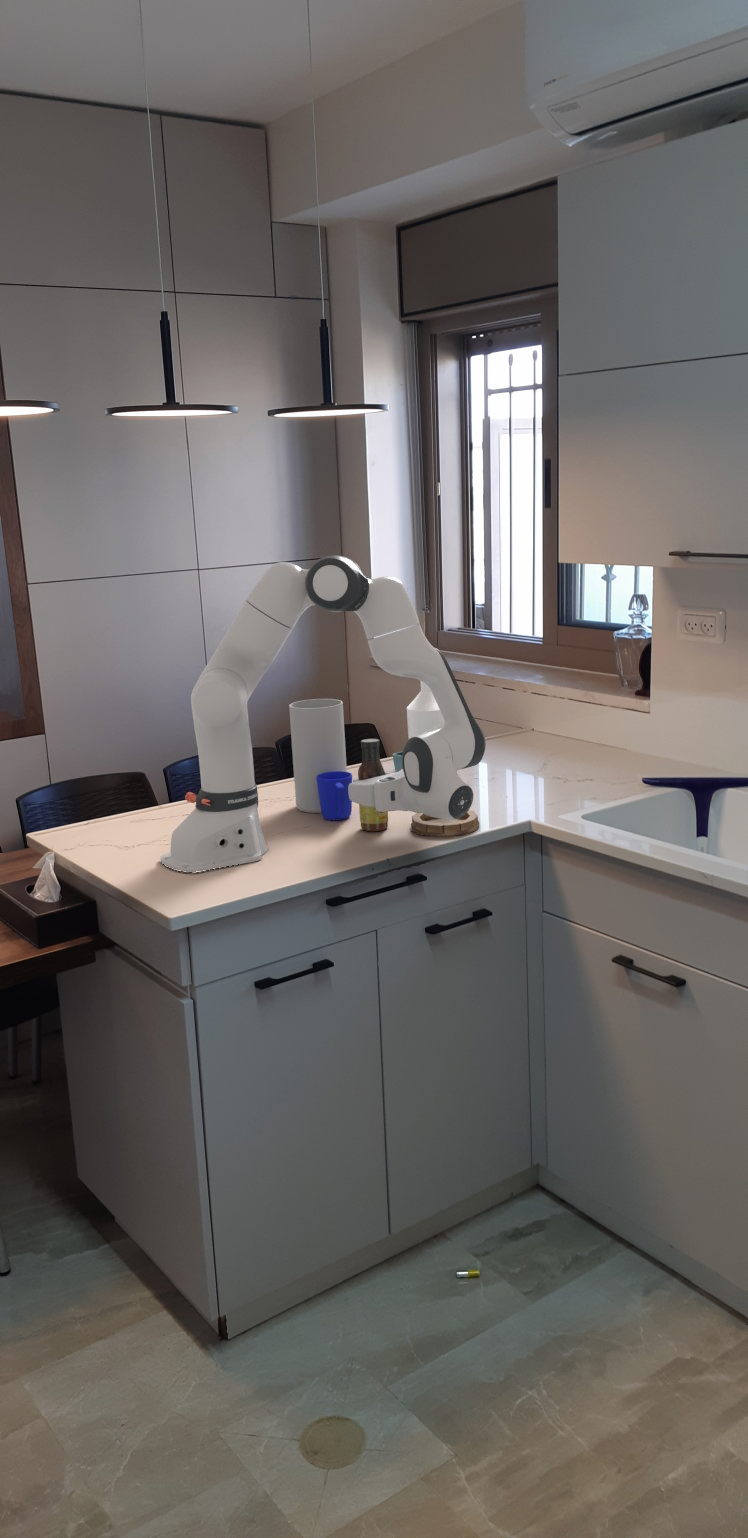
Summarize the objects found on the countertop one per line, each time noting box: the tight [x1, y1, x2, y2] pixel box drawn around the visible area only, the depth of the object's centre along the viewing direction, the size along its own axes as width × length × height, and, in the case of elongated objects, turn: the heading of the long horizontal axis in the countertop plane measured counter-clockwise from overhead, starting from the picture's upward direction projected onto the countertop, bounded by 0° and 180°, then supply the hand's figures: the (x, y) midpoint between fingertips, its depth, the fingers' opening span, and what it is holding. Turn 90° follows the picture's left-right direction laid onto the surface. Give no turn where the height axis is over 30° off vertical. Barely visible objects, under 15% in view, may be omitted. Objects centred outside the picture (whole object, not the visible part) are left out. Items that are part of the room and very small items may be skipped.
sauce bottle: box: [357, 738, 389, 832], centre depth 254 cm, size 7×6×20 cm
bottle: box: [406, 680, 444, 740], centre depth 309 cm, size 12×12×25 cm
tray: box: [410, 809, 480, 838], centre depth 254 cm, size 15×15×2 cm
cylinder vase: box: [288, 698, 348, 814], centre depth 273 cm, size 12×12×25 cm
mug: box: [316, 771, 353, 821], centre depth 263 cm, size 8×12×10 cm
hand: (369, 779), depth 254 cm, fingers open, 6 cm apart
